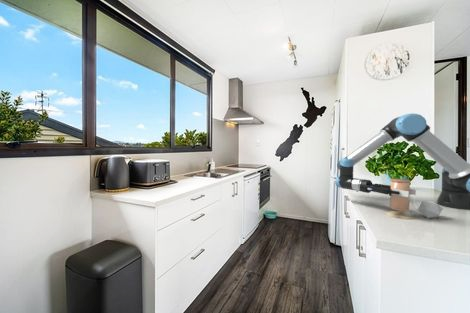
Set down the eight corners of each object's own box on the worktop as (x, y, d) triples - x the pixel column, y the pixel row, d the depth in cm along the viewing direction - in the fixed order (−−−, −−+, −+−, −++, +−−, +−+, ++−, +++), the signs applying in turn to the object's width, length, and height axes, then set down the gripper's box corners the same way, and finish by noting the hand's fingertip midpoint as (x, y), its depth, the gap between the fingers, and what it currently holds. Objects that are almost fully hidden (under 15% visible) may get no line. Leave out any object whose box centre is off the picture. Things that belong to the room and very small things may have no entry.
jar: (408, 207, 101) (409, 179, 100) (410, 212, 95) (411, 181, 94) (388, 205, 106) (389, 178, 105) (390, 209, 99) (391, 180, 98)
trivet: (412, 214, 102) (412, 213, 102) (416, 220, 93) (416, 219, 93) (385, 210, 108) (385, 209, 108) (386, 216, 99) (386, 215, 99)
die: (445, 222, 91) (449, 204, 94) (426, 213, 93) (431, 195, 95) (428, 222, 99) (432, 205, 102) (411, 213, 100) (416, 197, 103)
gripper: (371, 189, 121) (419, 197, 101) (352, 193, 110) (402, 203, 91) (371, 177, 120) (420, 183, 100) (353, 180, 110) (403, 188, 90)
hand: (412, 193), depth 95 cm, fingers closed on jar, 7 cm apart
